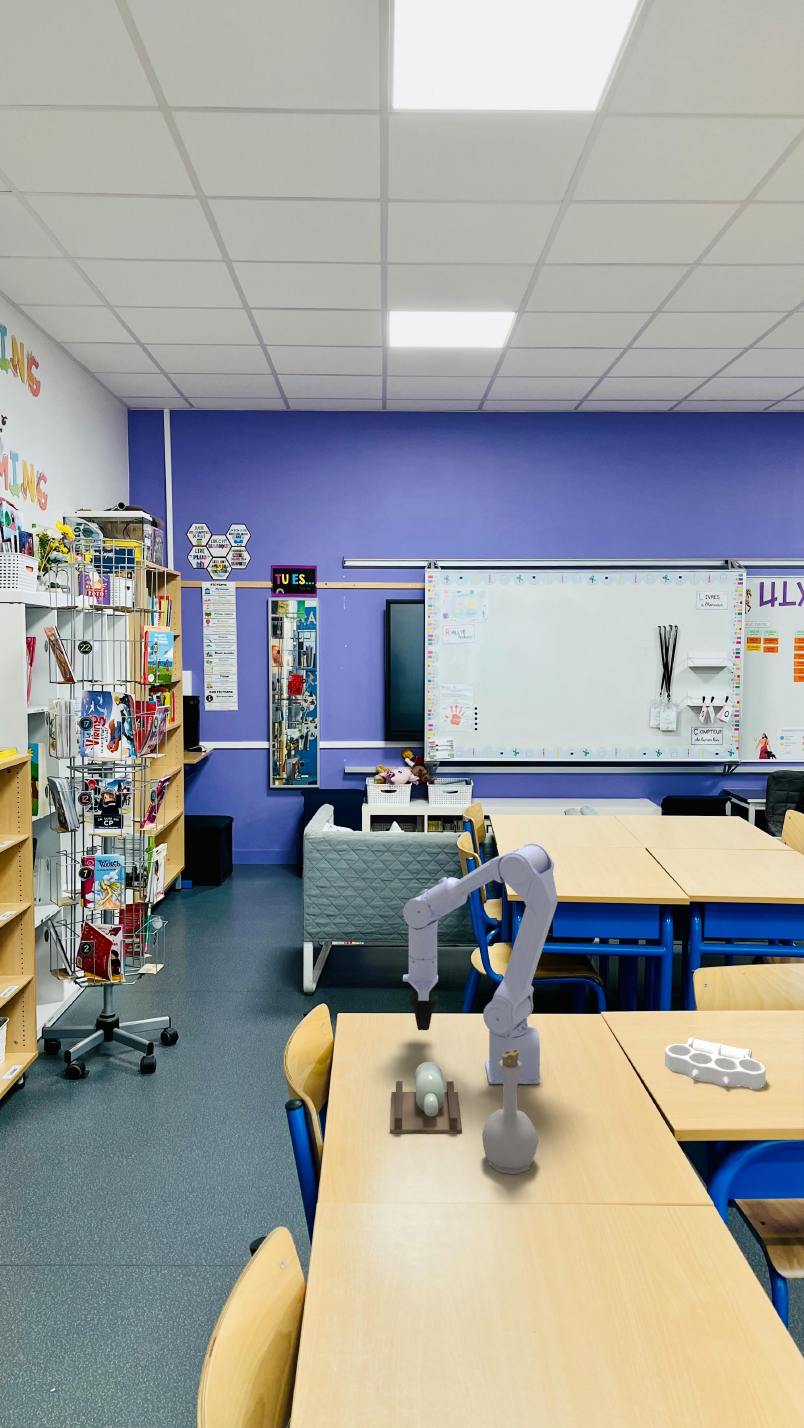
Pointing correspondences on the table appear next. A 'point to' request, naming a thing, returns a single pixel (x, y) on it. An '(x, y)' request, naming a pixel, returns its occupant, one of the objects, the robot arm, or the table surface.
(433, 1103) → the sage bottle
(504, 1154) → the potion bottle
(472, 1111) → the table surface
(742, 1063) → the knuckle duster
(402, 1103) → the walnut cradle
